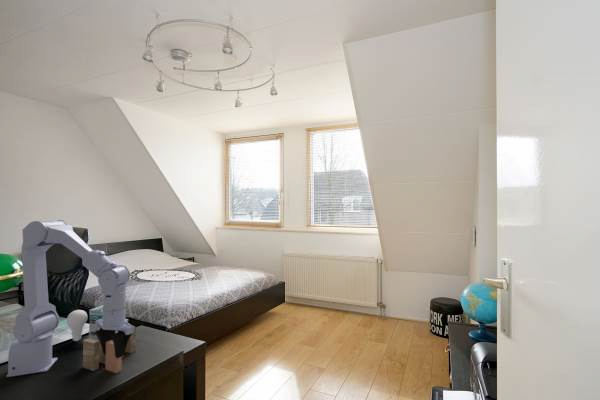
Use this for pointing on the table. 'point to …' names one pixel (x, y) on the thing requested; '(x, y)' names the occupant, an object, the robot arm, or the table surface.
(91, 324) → the light bulb box
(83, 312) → the lightbulb
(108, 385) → the table surface
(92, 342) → the domino
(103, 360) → the domino
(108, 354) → the domino
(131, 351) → the domino
